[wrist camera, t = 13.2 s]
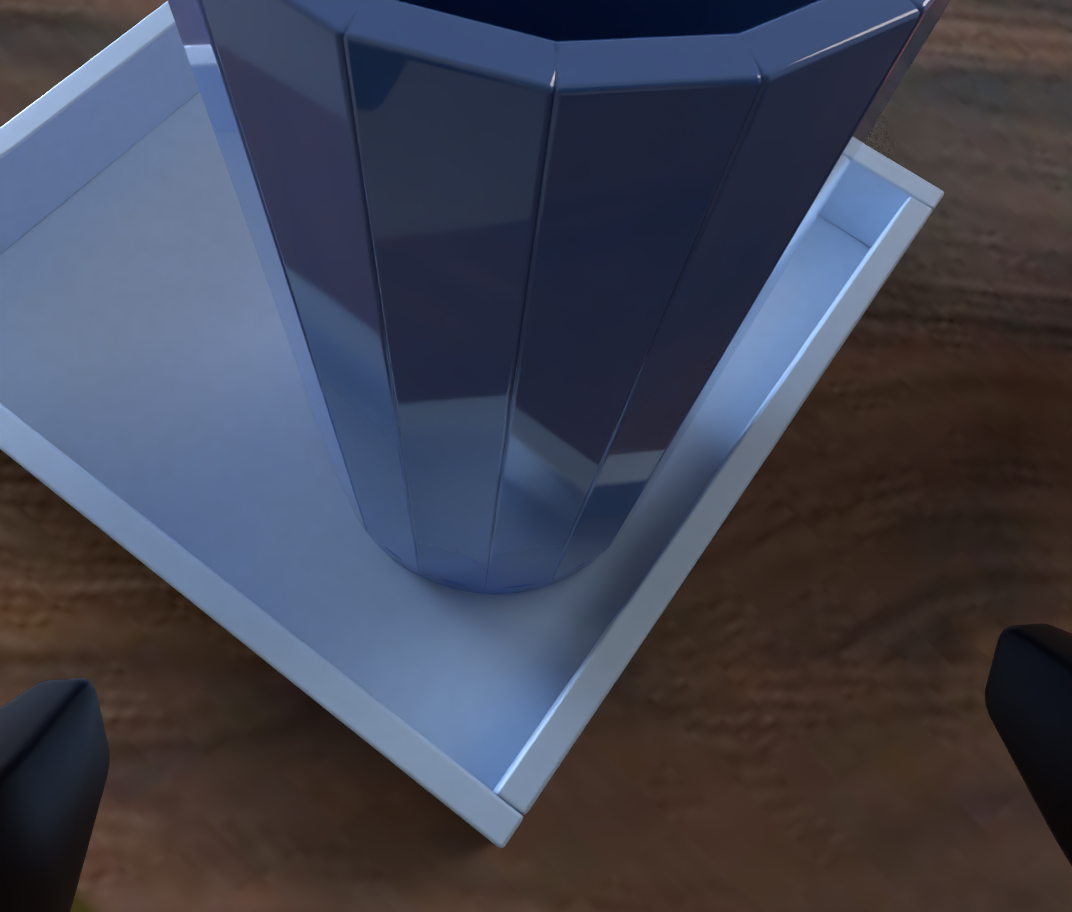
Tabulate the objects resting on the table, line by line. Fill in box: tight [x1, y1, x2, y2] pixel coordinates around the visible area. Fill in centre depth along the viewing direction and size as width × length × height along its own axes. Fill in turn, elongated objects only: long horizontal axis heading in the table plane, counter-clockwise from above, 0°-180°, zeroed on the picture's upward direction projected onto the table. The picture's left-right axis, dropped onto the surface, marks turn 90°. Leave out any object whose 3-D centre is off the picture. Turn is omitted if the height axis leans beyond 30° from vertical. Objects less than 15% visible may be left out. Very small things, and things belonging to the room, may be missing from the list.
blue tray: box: [0, 1, 944, 848], centre depth 19 cm, size 16×16×3 cm
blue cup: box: [168, 0, 950, 594], centre depth 12 cm, size 6×6×13 cm
